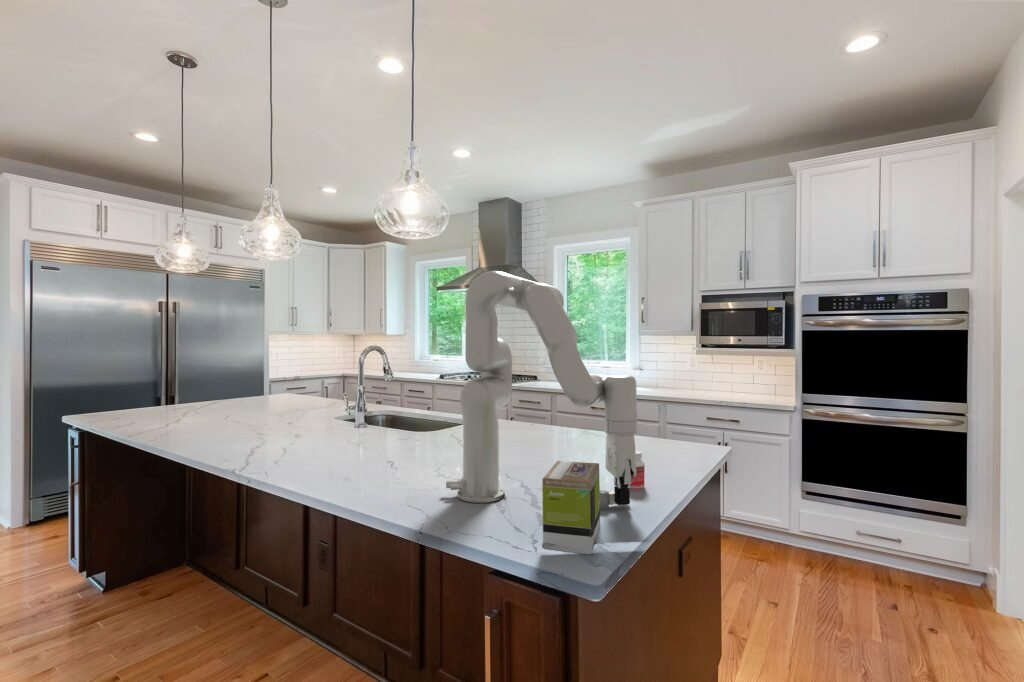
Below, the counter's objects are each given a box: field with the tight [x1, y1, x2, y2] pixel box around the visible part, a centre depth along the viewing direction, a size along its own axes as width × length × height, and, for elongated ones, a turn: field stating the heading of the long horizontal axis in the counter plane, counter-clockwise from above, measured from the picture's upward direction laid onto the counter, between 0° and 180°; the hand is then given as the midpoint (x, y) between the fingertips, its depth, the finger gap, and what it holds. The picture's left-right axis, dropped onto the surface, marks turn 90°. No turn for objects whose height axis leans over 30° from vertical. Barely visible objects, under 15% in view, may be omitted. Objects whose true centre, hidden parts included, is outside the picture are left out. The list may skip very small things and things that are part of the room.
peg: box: [600, 489, 617, 511], centre depth 122 cm, size 9×3×4 cm, turn 115°
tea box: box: [541, 460, 601, 555], centre depth 106 cm, size 15×10×15 cm, turn 163°
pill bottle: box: [629, 450, 646, 491], centre depth 139 cm, size 6×6×11 cm
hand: (622, 503), depth 120 cm, fingers closed
